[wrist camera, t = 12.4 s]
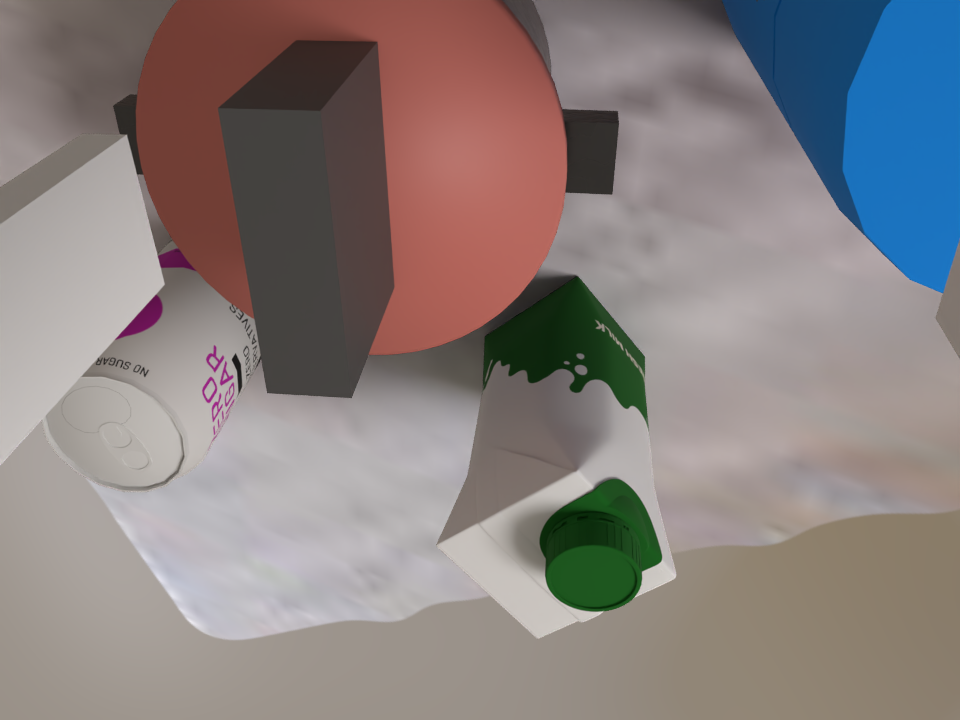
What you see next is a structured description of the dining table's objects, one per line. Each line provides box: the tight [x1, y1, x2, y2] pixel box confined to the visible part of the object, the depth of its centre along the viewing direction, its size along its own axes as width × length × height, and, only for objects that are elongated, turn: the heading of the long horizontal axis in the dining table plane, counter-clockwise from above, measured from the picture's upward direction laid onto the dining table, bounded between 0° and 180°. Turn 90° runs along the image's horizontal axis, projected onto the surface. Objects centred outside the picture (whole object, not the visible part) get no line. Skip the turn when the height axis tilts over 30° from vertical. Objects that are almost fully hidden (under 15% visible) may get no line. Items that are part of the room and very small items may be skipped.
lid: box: [136, 0, 567, 398], centre depth 31 cm, size 17×17×10 cm
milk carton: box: [436, 276, 676, 638], centre depth 45 cm, size 9×9×20 cm
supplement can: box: [41, 240, 261, 492], centre depth 47 cm, size 8×8×15 cm
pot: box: [113, 0, 619, 194], centre depth 40 cm, size 21×16×12 cm
